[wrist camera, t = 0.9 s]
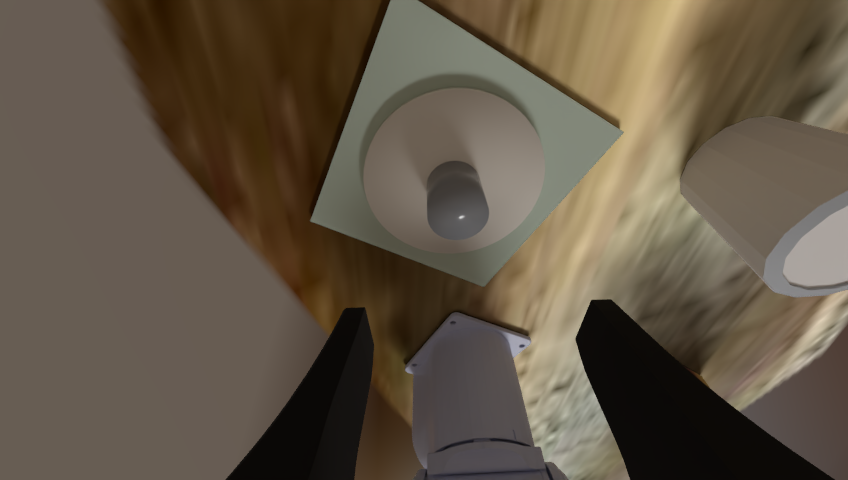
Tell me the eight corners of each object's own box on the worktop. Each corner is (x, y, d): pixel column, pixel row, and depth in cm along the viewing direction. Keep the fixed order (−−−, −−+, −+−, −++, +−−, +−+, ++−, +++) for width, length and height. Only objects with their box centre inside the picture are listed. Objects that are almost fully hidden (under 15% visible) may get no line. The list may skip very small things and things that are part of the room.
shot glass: (678, 126, 17) (800, 193, 12) (832, 84, 16) (1051, 136, 10) (660, 227, 21) (744, 311, 16) (781, 199, 20) (919, 281, 14)
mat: (482, 283, 24) (483, 287, 24) (312, 217, 20) (310, 221, 20) (620, 129, 17) (623, 132, 17) (396, -14, 13) (395, -14, 13)
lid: (478, 266, 23) (485, 306, 20) (341, 212, 20) (327, 250, 17) (581, 143, 17) (612, 175, 14) (412, 44, 14) (409, 59, 11)
